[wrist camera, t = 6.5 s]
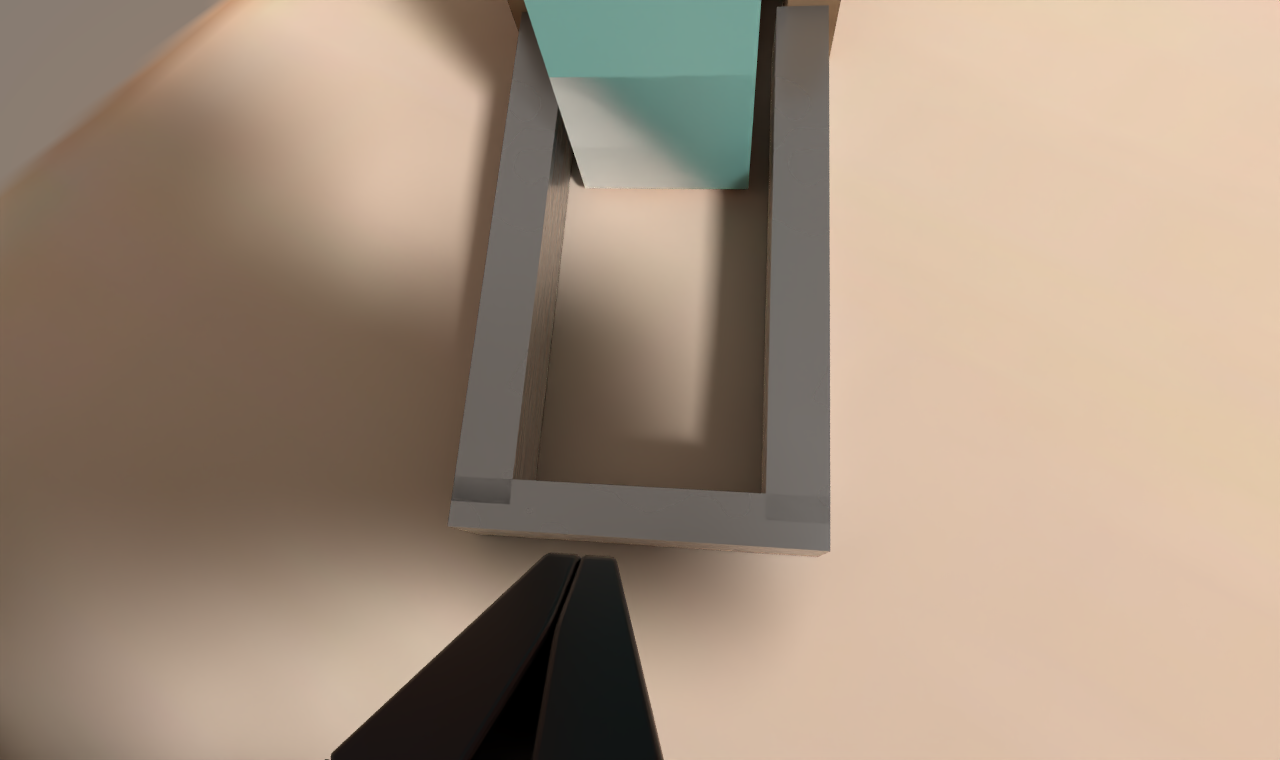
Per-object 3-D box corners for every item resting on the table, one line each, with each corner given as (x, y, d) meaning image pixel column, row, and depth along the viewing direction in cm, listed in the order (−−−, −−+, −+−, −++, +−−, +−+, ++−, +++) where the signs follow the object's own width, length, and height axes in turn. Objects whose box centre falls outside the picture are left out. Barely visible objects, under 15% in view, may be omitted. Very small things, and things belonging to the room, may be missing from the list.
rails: (817, 556, 15) (830, 551, 13) (476, 533, 16) (447, 526, 14) (818, 60, 19) (829, 5, 17) (539, 64, 20) (521, 12, 18)
